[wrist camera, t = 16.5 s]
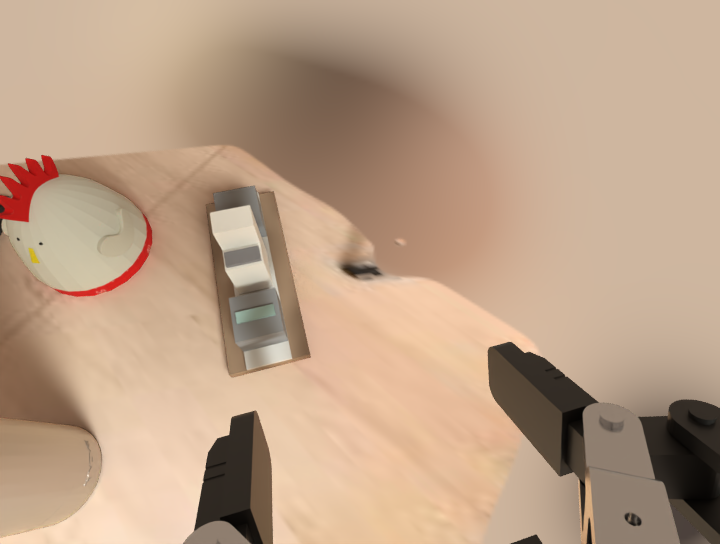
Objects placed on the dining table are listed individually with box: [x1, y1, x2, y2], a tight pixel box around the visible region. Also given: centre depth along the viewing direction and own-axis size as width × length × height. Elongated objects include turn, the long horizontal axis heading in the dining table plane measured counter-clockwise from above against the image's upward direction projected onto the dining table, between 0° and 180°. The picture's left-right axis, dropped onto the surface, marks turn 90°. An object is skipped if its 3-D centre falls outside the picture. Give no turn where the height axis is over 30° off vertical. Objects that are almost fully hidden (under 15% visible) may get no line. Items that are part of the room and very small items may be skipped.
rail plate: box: [206, 186, 311, 377], centre depth 47 cm, size 9×23×6 cm, turn 15°
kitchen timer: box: [0, 155, 152, 297], centre depth 44 cm, size 14×14×15 cm
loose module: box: [210, 205, 273, 294], centre depth 44 cm, size 4×5×10 cm
